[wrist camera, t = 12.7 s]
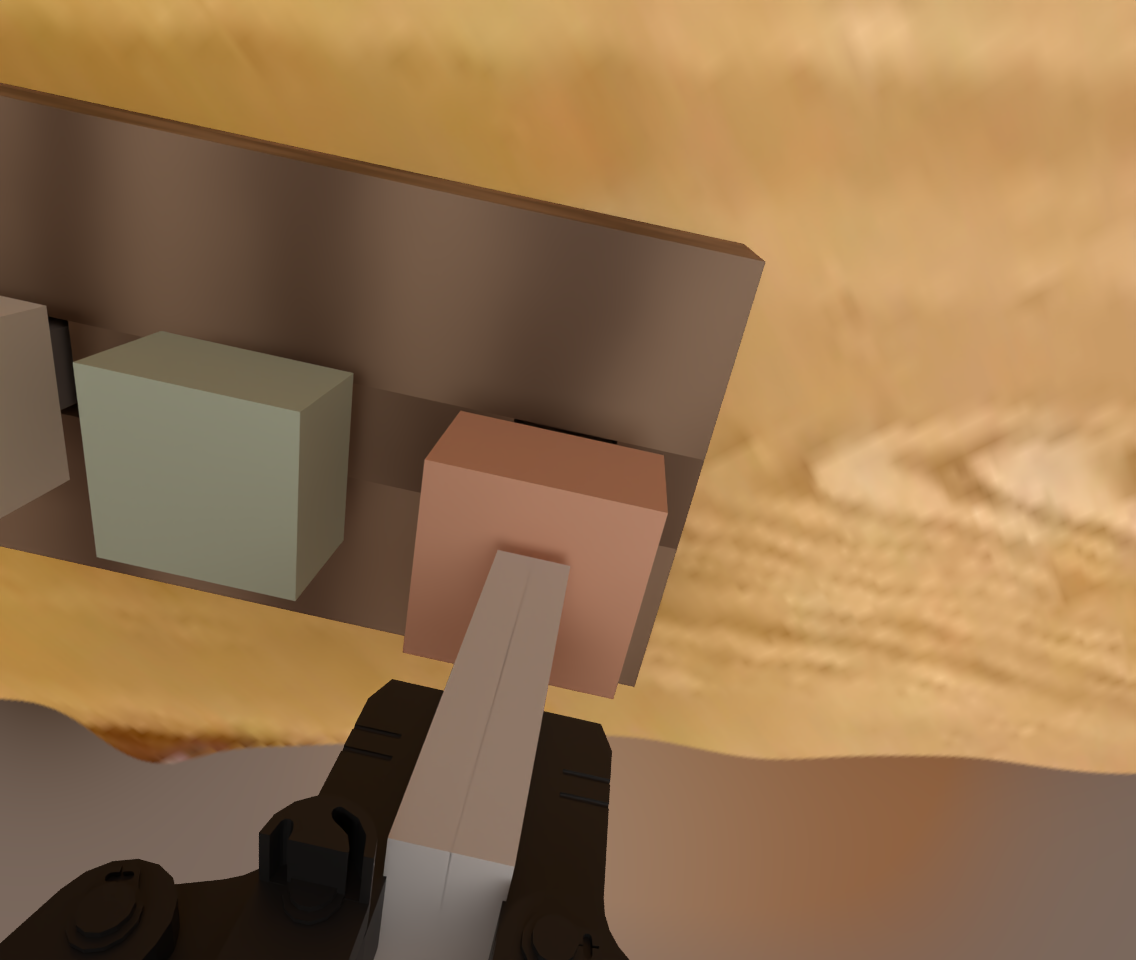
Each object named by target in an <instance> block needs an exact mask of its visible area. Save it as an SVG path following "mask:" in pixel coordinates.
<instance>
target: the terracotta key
mask: <svg viewBox="0 0 1136 960" xmlns="http://www.w3.org/2000/svg"><path fill="white" fill-rule="evenodd" d="M667 515H668V506H667V492H666V478H665V464H664V455H660V454H656V453H651V452H647V451H642V450H638V449H633V448H628V447H624V446H619V445H615V444H610V443H606V442H601V441H597V440H592V439H587V438H583V437H578V436H574V435H569V434H565V433H560V432H555V431H551V430H546V429H542V428H537V427H533V426H528V425H524V424H519V423H514V422H510V421H505V420H501V419H496V418H492V417H487V416H483V415H478V414H473V413H469V412H464V411H460V412H459V413H458V415H457V416H456V417H455V419H454V420H453V421H452V423H451V424H450V426H449V427H448V428H447V430H446V431H445V432H444V434H443V435H442V436H441V438H440V439H439V441H438V442H437V443H436V445H435V446H434V447H433V449H432V450H431V452H430V453H429V454H428V456H427V457H426V458H425V461H424V469H423V478H422V487H421V496H420V505H419V514H418V522H417V531H416V540H415V549H414V558H413V567H412V575H411V584H410V593H409V602H408V611H407V620H406V628H405V637H404V646H403V653H408V654H412V655H417V656H421V657H426V658H430V659H435V660H439V661H444V662H448V663H453V664H454V663H455V660H456V658H457V655H458V653H459V650H460V647H461V645H462V642H463V640H464V637H465V634H466V632H467V629H468V626H469V624H470V621H471V619H472V616H473V613H474V611H475V608H476V605H477V603H478V600H479V598H480V595H481V592H482V590H483V587H484V585H485V582H486V579H487V577H488V574H489V571H490V569H491V566H492V564H493V561H494V558H495V556H496V553H497V550H501V551H505V552H510V553H514V554H519V555H523V556H528V557H532V558H537V559H541V560H546V561H550V562H555V563H559V564H564V565H568V566H570V571H569V576H568V581H567V587H566V592H565V598H564V603H563V608H562V614H561V619H560V625H559V630H558V635H557V641H556V646H555V652H554V657H553V662H552V668H551V673H550V679H549V684H548V685H552V686H556V687H561V688H565V689H570V690H574V691H579V692H583V693H588V694H592V695H597V696H601V697H606V698H610V699H613V698H614V695H615V692H616V688H617V685H618V681H619V678H620V675H621V671H622V668H623V664H624V661H625V658H626V654H627V651H628V647H629V644H630V641H631V637H632V634H633V630H634V627H635V624H636V620H637V617H638V613H639V610H640V607H641V603H642V600H643V596H644V593H645V590H646V586H647V583H648V579H649V576H650V573H651V569H652V566H653V562H654V559H655V556H656V552H657V549H658V545H659V542H660V539H661V535H662V532H663V528H664V525H665V522H666V518H667Z"/></svg>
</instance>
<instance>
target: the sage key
mask: <svg viewBox="0 0 1136 960" xmlns="http://www.w3.org/2000/svg"><path fill="white" fill-rule="evenodd" d="M73 369H74V377H75V385H76V393H77V401H78V409H79V417H80V425H81V434H82V442H83V450H84V458H85V466H86V474H87V482H88V490H89V498H90V506H91V514H92V522H93V531H94V539H95V547H96V555H97V557H99V558H103V559H108V560H112V561H117V562H121V563H126V564H130V565H135V566H139V567H144V568H148V569H153V570H157V571H162V572H166V573H171V574H175V575H180V576H184V577H189V578H193V579H198V580H202V581H207V582H211V583H216V584H220V585H225V586H229V587H234V588H238V589H243V590H247V591H252V592H256V593H261V594H265V595H270V596H274V597H279V598H283V599H288V600H292V601H296V600H297V598H298V597H299V596H300V595H301V593H302V592H303V591H304V590H305V588H306V587H307V586H308V584H309V583H310V582H311V581H312V579H313V578H314V577H315V576H316V574H317V573H318V572H319V571H320V569H321V568H322V567H323V565H324V564H325V563H326V562H327V560H328V559H329V558H330V557H331V555H332V554H333V553H334V552H335V550H336V549H337V548H338V547H339V545H340V544H341V543H342V541H343V540H344V524H345V507H346V490H347V474H348V457H349V441H350V424H351V407H352V391H353V374H354V373H351V372H346V371H342V370H337V369H333V368H328V367H324V366H319V365H314V364H310V363H305V362H301V361H296V360H292V359H287V358H283V357H278V356H273V355H269V354H264V353H260V352H255V351H251V350H246V349H241V348H237V347H232V346H228V345H223V344H219V343H214V342H210V341H205V340H200V339H196V338H191V337H187V336H182V335H178V334H173V333H168V332H164V331H160V332H157V333H154V334H151V335H148V336H145V337H143V338H140V339H137V340H134V341H131V342H128V343H126V344H123V345H120V346H117V347H114V348H111V349H109V350H106V351H103V352H100V353H97V354H94V355H92V356H89V357H86V358H83V359H80V360H77V361H75V362H73Z"/></svg>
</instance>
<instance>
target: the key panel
mask: <svg viewBox="0 0 1136 960" xmlns="http://www.w3.org/2000/svg"><path fill="white" fill-rule="evenodd" d="M764 265H765V261H764V260H763V259H761V258H760V257H759V256H758V255H756V254H755V253H754V252H753V251H752V250H750V249H749V248H748V247H747V246H746V245H744V244H741V243H736V242H731V241H727V240H722V239H718V238H713V237H708V236H704V235H699V234H694V233H690V232H685V231H681V230H676V229H671V228H667V227H662V226H658V225H653V224H648V223H644V222H639V221H635V220H630V219H625V218H621V217H616V216H612V215H607V214H602V213H598V212H593V211H588V210H584V209H579V208H575V207H570V206H565V205H561V204H556V203H552V202H547V201H542V200H538V199H533V198H529V197H524V196H519V195H515V194H510V193H506V192H501V191H496V190H492V189H487V188H482V187H478V186H473V185H469V184H464V183H459V182H455V181H450V180H446V179H441V178H436V177H432V176H427V175H423V174H418V173H413V172H409V171H404V170H400V169H395V168H390V167H386V166H381V165H376V164H372V163H367V162H363V161H358V160H353V159H349V158H344V157H340V156H335V155H330V154H326V153H321V152H317V151H312V150H307V149H303V148H298V147H294V146H289V145H284V144H280V143H275V142H270V141H266V140H261V139H257V138H252V137H247V136H243V135H238V134H234V133H229V132H224V131H220V130H215V129H211V128H206V127H201V126H197V125H192V124H188V123H183V122H178V121H174V120H169V119H164V118H160V117H155V116H151V115H146V114H141V113H137V112H132V111H128V110H123V109H118V108H114V107H109V106H105V105H100V104H95V103H91V102H86V101H82V100H77V99H72V98H68V97H63V96H58V95H54V94H49V93H45V92H40V91H35V90H31V89H26V88H22V87H17V86H12V85H8V84H3V83H0V296H4V297H9V298H13V299H18V300H22V301H27V302H32V303H36V304H41V305H45V306H46V308H47V315H48V316H49V317H54V318H58V319H63V320H67V321H68V325H69V333H70V341H71V349H72V357H73V362H75V361H77V360H80V359H83V358H86V357H89V356H92V355H94V354H97V353H100V352H103V351H106V350H109V349H111V348H114V347H117V346H120V345H123V344H126V343H128V342H131V341H134V340H137V339H140V338H143V337H145V336H148V335H151V334H154V333H157V332H160V331H164V332H168V333H173V334H178V335H182V336H187V337H191V338H196V339H200V340H205V341H210V342H214V343H219V344H223V345H228V346H232V347H237V348H241V349H246V350H251V351H255V352H260V353H264V354H269V355H273V356H278V357H283V358H287V359H292V360H296V361H301V362H305V363H310V364H314V365H319V366H324V367H328V368H333V369H337V370H342V371H346V372H351V373H354V374H353V391H352V407H351V424H350V441H349V457H348V474H347V490H346V507H345V524H344V540H343V541H342V543H341V544H340V545H339V547H338V548H337V549H336V550H335V552H334V553H333V554H332V555H331V557H330V558H329V559H328V560H327V562H326V563H325V564H324V565H323V567H322V568H321V569H320V571H319V572H318V573H317V574H316V576H315V577H314V578H313V579H312V581H311V582H310V583H309V584H308V586H307V587H306V588H305V590H304V591H303V592H302V593H301V595H300V596H299V597H298V598H297V600H296V601H292V600H288V599H283V598H279V597H274V596H270V595H265V594H261V593H256V592H252V591H247V590H243V589H238V588H234V587H229V586H225V585H220V584H216V583H211V582H207V581H202V580H198V579H193V578H189V577H184V576H180V575H175V574H171V573H166V572H162V571H157V570H153V569H148V568H144V567H139V566H135V565H130V564H126V563H121V562H117V561H112V560H108V559H103V558H99V557H97V555H96V547H95V539H94V531H93V522H92V514H91V506H90V498H89V490H88V482H87V474H86V466H85V458H84V450H83V442H82V434H81V425H80V417H79V409H78V403H76V404H74V405H72V406H69V407H67V408H65V409H62V410H60V411H61V418H62V426H63V433H64V440H65V448H66V455H67V462H68V470H69V477H70V480H68V481H67V482H65V483H63V484H61V485H59V486H58V487H56V488H54V489H52V490H50V491H49V492H47V493H45V494H43V495H41V496H40V497H38V498H36V499H34V500H32V501H31V502H29V503H27V504H25V505H23V506H22V507H20V508H18V509H16V510H14V511H13V512H11V513H9V514H7V515H6V516H4V517H2V518H0V546H2V547H6V548H11V549H15V550H20V551H24V552H29V553H33V554H38V555H42V556H47V557H51V558H56V559H60V560H65V561H69V562H74V563H78V564H83V565H87V566H92V567H96V568H101V569H105V570H110V571H114V572H119V573H123V574H128V575H132V576H137V577H141V578H146V579H150V580H155V581H159V582H164V583H168V584H173V585H177V586H182V587H186V588H191V589H195V590H200V591H204V592H209V593H213V594H218V595H222V596H227V597H231V598H236V599H241V600H245V601H250V602H254V603H259V604H263V605H268V606H272V607H277V608H281V609H286V610H290V611H295V612H299V613H304V614H308V615H313V616H317V617H322V618H326V619H331V620H335V621H340V622H344V623H349V624H353V625H358V626H362V627H367V628H371V629H376V630H380V631H385V632H389V633H394V634H398V635H403V636H405V628H406V620H407V611H408V602H409V593H410V584H411V575H412V567H413V558H414V549H415V540H416V531H417V522H418V514H419V505H420V496H421V487H422V478H423V469H424V461H425V458H426V457H427V456H428V454H429V453H430V452H431V450H432V449H433V447H434V446H435V445H436V443H437V442H438V441H439V439H440V438H441V436H442V435H443V434H444V432H445V431H446V430H447V428H448V427H449V426H450V424H451V423H452V421H453V420H454V419H455V417H456V416H457V415H458V413H459V412H460V411H464V412H469V413H473V414H478V415H483V416H487V417H492V418H496V419H501V420H505V421H510V422H514V423H519V424H524V425H528V426H533V427H537V428H542V429H546V430H551V431H555V432H560V433H565V434H569V435H574V436H578V437H583V438H587V439H592V440H597V441H601V442H606V443H610V444H615V445H619V446H624V447H628V448H633V449H638V450H642V451H647V452H651V453H656V454H660V455H664V464H665V478H666V492H667V506H668V515H667V518H666V522H665V525H664V528H663V532H662V535H661V539H660V542H659V545H658V549H657V552H656V556H655V559H654V562H653V566H652V569H651V573H650V576H649V579H648V583H647V586H646V590H645V593H644V596H643V600H642V603H641V607H640V610H639V613H638V617H637V620H636V624H635V627H634V630H633V634H632V637H631V641H630V644H629V647H628V651H627V654H626V658H625V661H624V664H623V668H622V671H621V675H620V678H619V681H618V683H619V684H624V685H628V686H633V687H634V686H635V683H636V680H637V677H638V673H639V670H640V667H641V664H642V660H643V657H644V654H645V651H646V647H647V644H648V641H649V638H650V634H651V631H652V628H653V625H654V621H655V618H656V615H657V612H658V608H659V605H660V602H661V599H662V595H663V592H664V589H665V586H666V583H667V579H668V576H669V573H670V570H671V566H672V563H673V560H674V557H675V553H676V550H677V547H678V544H679V540H680V537H681V534H682V531H683V527H684V524H685V521H686V518H687V514H688V511H689V508H690V505H691V501H692V498H693V495H694V492H695V488H696V485H697V482H698V479H699V476H700V472H701V469H702V466H703V463H704V459H705V456H706V453H707V450H708V446H709V443H710V440H711V437H712V433H713V430H714V427H715V424H716V420H717V417H718V414H719V411H720V407H721V404H722V401H723V398H724V394H725V391H726V388H727V385H728V381H729V378H730V375H731V372H732V368H733V365H734V362H735V359H736V356H737V352H738V349H739V346H740V343H741V339H742V336H743V333H744V330H745V326H746V323H747V320H748V317H749V313H750V310H751V307H752V304H753V300H754V297H755V294H756V291H757V287H758V284H759V281H760V278H761V274H762V271H763V268H764Z"/></svg>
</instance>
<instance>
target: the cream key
mask: <svg viewBox="0 0 1136 960" xmlns="http://www.w3.org/2000/svg"><path fill="white" fill-rule="evenodd" d="M76 403H78V401H77V393H76V385H75V377H74V369H73V357H72V349H71V341H70V333H69V325H68V321H67V320H63V319H58V318H54V317H49V316H48V315H47V308H46V306H45V305H41V304H36V303H32V302H27V301H22V300H18V299H13V298H9V297H4V296H0V518H2V517H4V516H6V515H7V514H9V513H11V512H13V511H14V510H16V509H18V508H20V507H22V506H23V505H25V504H27V503H29V502H31V501H32V500H34V499H36V498H38V497H40V496H41V495H43V494H45V493H47V492H49V491H50V490H52V489H54V488H56V487H58V486H59V485H61V484H63V483H65V482H67V481H68V480H70V477H69V470H68V462H67V455H66V448H65V440H64V433H63V426H62V418H61V411H60V410H62V409H65V408H67V407H69V406H72V405H74V404H76Z"/></svg>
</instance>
